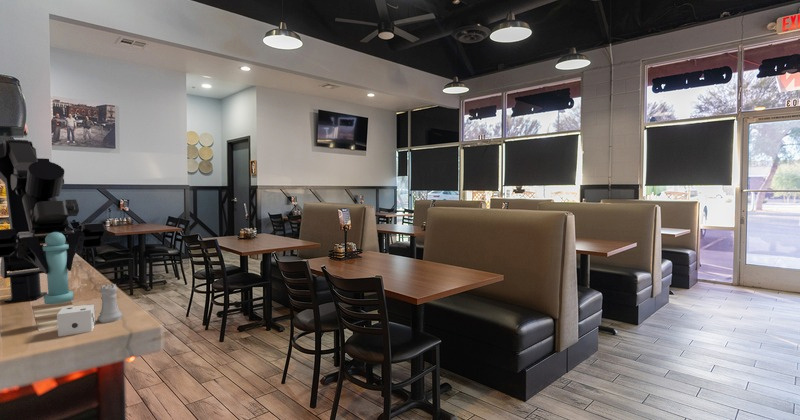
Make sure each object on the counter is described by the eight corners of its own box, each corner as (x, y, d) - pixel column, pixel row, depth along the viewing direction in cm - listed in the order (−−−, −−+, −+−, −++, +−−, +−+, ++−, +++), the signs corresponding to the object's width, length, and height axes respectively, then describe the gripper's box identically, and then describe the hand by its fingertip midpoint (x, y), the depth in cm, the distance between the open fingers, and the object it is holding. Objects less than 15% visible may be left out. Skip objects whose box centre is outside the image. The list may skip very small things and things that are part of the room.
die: (64, 333, 81) (62, 307, 80) (95, 328, 83) (94, 303, 83) (58, 341, 76) (56, 314, 76) (92, 336, 79) (90, 309, 78)
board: (32, 309, 97) (32, 305, 97) (70, 303, 102) (70, 299, 102) (38, 334, 80) (38, 330, 79) (84, 325, 84) (84, 322, 84)
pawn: (50, 299, 85) (46, 231, 84) (77, 296, 87) (73, 230, 86) (39, 305, 81) (35, 233, 80) (68, 302, 82) (64, 232, 82)
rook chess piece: (110, 327, 83) (107, 288, 83) (91, 326, 84) (89, 287, 84) (128, 320, 87) (126, 283, 87) (111, 319, 88) (108, 282, 88)
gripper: (-17, 187, 78) (-5, 251, 71) (102, 186, 92) (121, 239, 86) (-19, 227, 83) (-8, 289, 77) (93, 220, 98) (111, 272, 91)
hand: (58, 271), depth 82 cm, fingers closed on pawn, 3 cm apart
